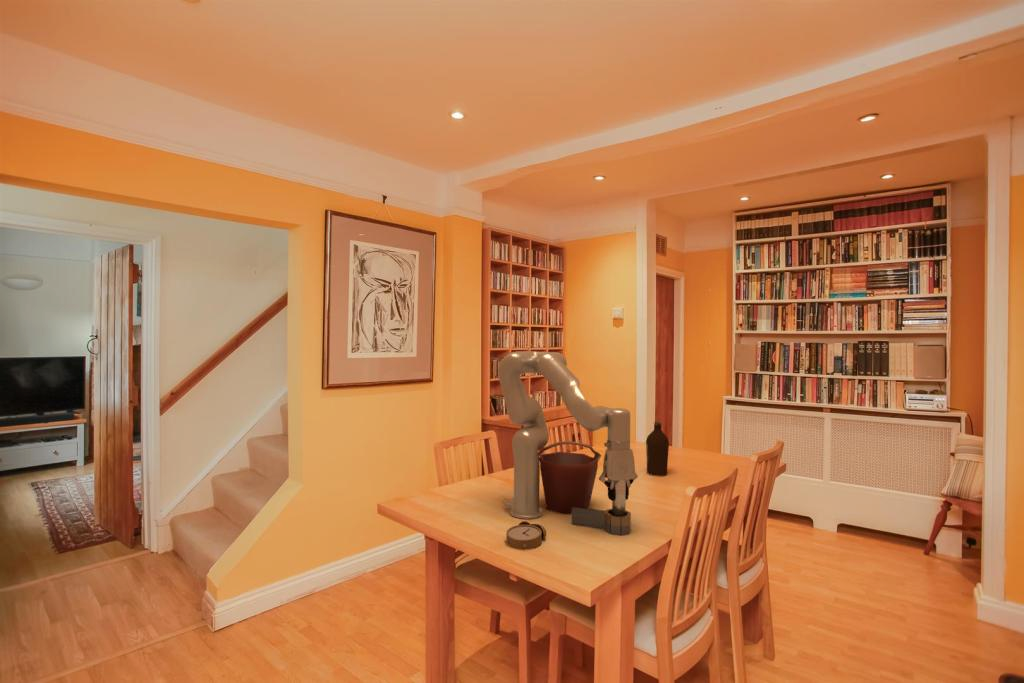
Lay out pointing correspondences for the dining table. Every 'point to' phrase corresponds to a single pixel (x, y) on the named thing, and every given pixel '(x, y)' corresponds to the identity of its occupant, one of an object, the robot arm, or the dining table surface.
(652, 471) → the olive oil
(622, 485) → the hinge pin
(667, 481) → the dining table surface
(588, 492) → the bucket
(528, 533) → the alarm clock
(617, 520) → the hinge
